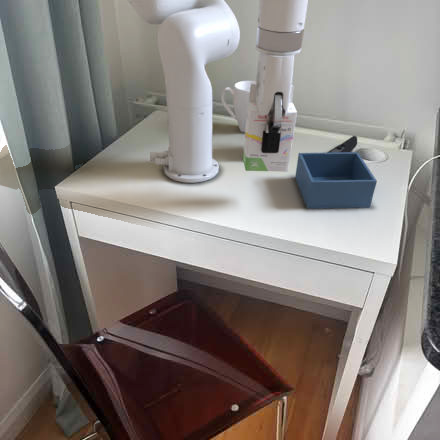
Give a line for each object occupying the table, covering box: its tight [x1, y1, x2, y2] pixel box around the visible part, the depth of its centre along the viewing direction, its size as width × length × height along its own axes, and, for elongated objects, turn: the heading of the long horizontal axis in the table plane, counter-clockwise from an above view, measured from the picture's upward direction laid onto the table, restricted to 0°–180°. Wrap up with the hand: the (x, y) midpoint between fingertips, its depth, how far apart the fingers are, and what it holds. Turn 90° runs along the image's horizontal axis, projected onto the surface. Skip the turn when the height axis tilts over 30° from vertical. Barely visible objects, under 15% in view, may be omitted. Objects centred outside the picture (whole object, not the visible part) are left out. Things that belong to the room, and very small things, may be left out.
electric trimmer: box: [326, 135, 358, 153], centre depth 110 cm, size 4×16×3 cm, turn 142°
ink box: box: [242, 84, 298, 173], centre depth 84 cm, size 9×5×15 cm, turn 93°
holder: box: [294, 151, 378, 210], centre depth 96 cm, size 13×13×6 cm
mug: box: [220, 80, 256, 134], centre depth 120 cm, size 12×8×11 cm
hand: (267, 144), depth 86 cm, fingers closed on ink box, 5 cm apart
